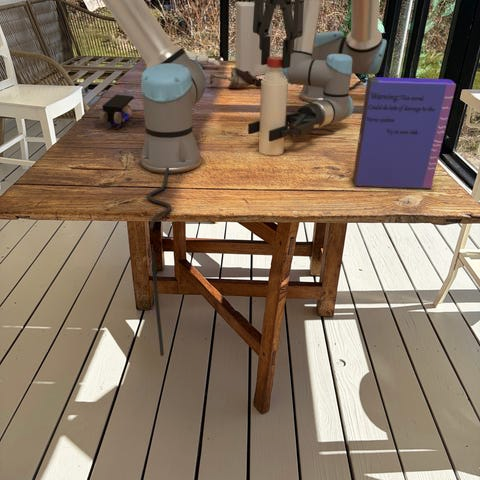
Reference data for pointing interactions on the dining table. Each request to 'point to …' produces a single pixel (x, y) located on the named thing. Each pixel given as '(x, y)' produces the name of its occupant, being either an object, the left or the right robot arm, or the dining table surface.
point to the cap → (274, 62)
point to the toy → (202, 59)
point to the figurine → (239, 79)
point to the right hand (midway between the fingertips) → (259, 132)
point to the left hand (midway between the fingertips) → (275, 65)
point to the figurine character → (116, 110)
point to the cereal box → (402, 131)
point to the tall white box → (248, 41)
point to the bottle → (272, 110)
